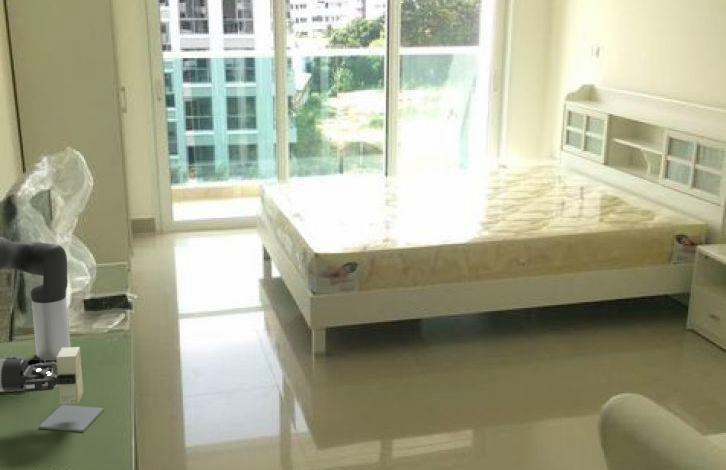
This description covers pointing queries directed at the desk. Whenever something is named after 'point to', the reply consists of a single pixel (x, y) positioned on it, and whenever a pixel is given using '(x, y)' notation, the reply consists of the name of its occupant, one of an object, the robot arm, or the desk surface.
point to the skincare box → (70, 365)
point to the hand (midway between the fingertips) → (78, 373)
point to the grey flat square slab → (71, 418)
